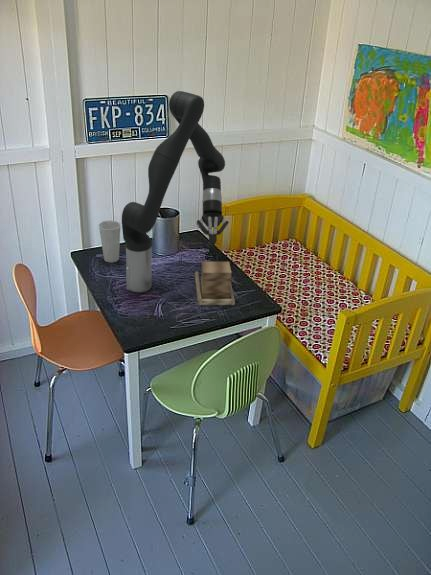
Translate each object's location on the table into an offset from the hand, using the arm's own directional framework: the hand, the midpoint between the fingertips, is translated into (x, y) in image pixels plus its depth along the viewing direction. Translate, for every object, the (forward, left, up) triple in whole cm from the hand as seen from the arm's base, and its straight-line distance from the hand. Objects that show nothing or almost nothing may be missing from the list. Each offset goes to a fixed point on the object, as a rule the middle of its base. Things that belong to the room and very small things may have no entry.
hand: (212, 244), depth 209 cm
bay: (0, -12, -14) cm, 19 cm away
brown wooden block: (0, -16, -13) cm, 20 cm away
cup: (-40, +13, -14) cm, 45 cm away
